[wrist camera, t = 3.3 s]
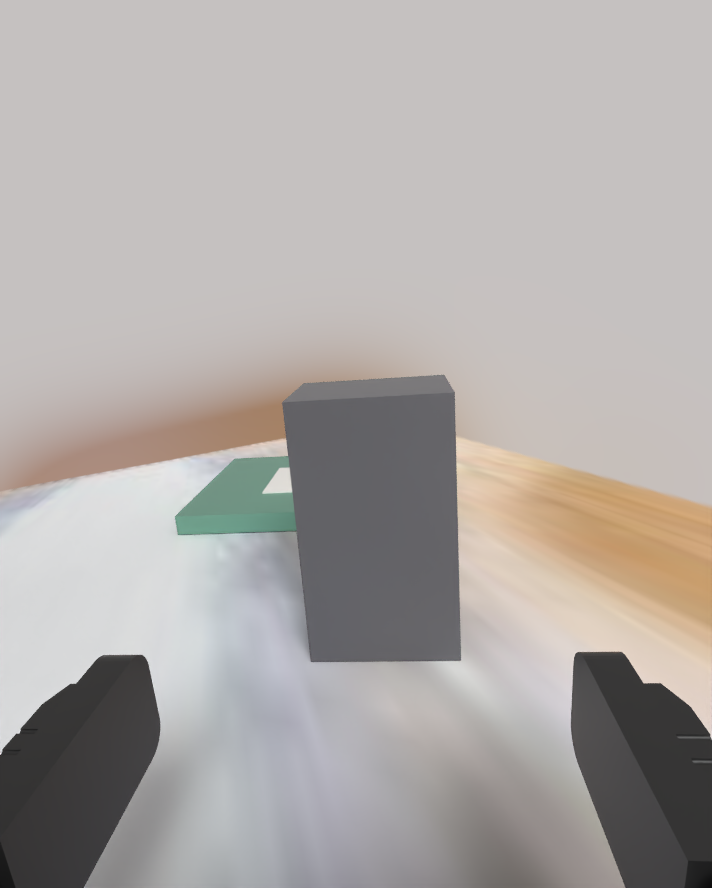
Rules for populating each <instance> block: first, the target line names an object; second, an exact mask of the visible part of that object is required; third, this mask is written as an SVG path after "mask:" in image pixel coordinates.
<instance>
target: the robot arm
mask: <svg viewBox="0 0 712 888" xmlns="http://www.w3.org/2000/svg"><path fill="white" fill-rule="evenodd" d="M571 732H572V740H573V746H574V751H575V755H576V758H577V762H578V764H579V767H580V770H581V772H582V775H583V778H584V780H585V783H586V785H587V788H588V791H589V793H590V796H591V798H592V801H593V804H594V806H595V809H596V811H597V814H598V817H599V819H600V822H601V824H602V827H603V830H604V832H605V835H606V838H607V840H608V843H609V845H610V848H611V851H612V853H613V856H614V858H615V861H616V864H617V866H618V869H619V871H620V874H621V877H622V879H623V882H624V884H625V887H626V888H712V740H711V737H710V734H709V732H708V731H707V729H706V728H705V727H704V725H703V724H702V722H701V721H700V720H699V718H698V717H697V715H696V714H695V712H694V711H693V710H692V708H691V707H690V706H689V705H688V704H686V703H685V702H684V701H683V700H681V699H680V698H679V697H677V696H676V695H675V694H674V693H672V692H671V691H670V690H669V689H667V688H666V687H665V686H663V685H662V684H661V683H648V684H643V682H642V680H641V679H640V677H639V676H638V674H637V673H636V671H635V669H634V668H633V666H632V665H631V663H630V661H629V660H628V658H627V657H626V656H625V655H624V654H623V653H622V652H577V653H576V654H575V657H574V666H573V688H572V710H571ZM159 736H160V718H159V713H158V708H157V703H156V699H155V694H154V689H153V684H152V679H151V675H150V670H149V665H148V662H147V660H146V658H145V657H144V656H143V655H103V656H101V657H99V658H98V659H97V660H96V661H95V662H94V663H93V664H92V666H91V667H90V668H89V669H88V670H87V672H86V673H85V674H84V675H83V676H82V678H81V679H80V680H79V681H78V682H77V683H76V684H70V685H68V686H67V687H66V688H64V689H63V690H61V691H60V692H59V693H57V694H56V695H55V696H53V697H52V698H50V699H49V700H48V701H46V702H45V703H44V704H42V705H41V706H40V707H39V709H38V710H37V711H36V712H35V713H34V714H33V715H32V717H31V718H30V719H29V720H28V721H27V722H26V723H25V725H24V726H23V727H22V728H21V731H20V734H16V735H15V736H14V737H13V738H12V739H11V740H10V742H9V743H8V744H7V745H6V746H5V747H4V748H3V749H2V750H3V751H2V754H1V755H0V888H84V886H85V884H86V882H87V880H88V878H89V876H90V875H91V873H92V871H93V869H94V867H95V865H96V863H97V861H98V860H99V858H100V856H101V854H102V852H103V850H104V848H105V847H106V845H107V843H108V841H109V839H110V837H111V835H112V834H113V832H114V830H115V828H116V826H117V824H118V822H119V820H120V819H121V817H122V815H123V813H124V811H125V809H126V807H127V806H128V804H129V802H130V800H131V798H132V796H133V794H134V793H135V791H136V789H137V787H138V785H139V783H140V781H141V779H142V778H143V776H144V774H145V772H146V770H147V768H148V766H149V765H150V763H151V761H152V759H153V757H154V755H155V752H156V749H157V746H158V742H159Z"/></svg>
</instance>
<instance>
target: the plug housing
mask: <svg viewBox="0 0 712 888" xmlns="http://www.w3.org/2000/svg"><path fill="white" fill-rule="evenodd" d="M454 395H455V392H454V391H453V389H452V387H451V386H450V384H449V382H448V381H447V379H446V377H445V376H444V375H434V376H418V377H401V378H385V379H369V380H353V381H336V382H320V383H304V384H302V385H301V386H300V387H299V388H298V389H297V390H296V391H295V392H293V393H292V394H291V395H290V396H289V397H288V398H287V399H285V400H284V401H283V403H282V404H283V413H284V422H285V431H286V440H287V449H288V458H289V467H290V476H291V485H292V494H293V503H294V512H295V521H296V530H297V539H298V548H299V557H300V566H301V575H302V584H303V592H304V601H305V610H306V619H307V628H308V637H309V646H310V655H311V662H324V661H433V660H461V645H460V602H459V560H458V517H457V475H456V432H455V396H454Z"/></svg>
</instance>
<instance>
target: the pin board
mask: <svg viewBox="0 0 712 888" xmlns="http://www.w3.org/2000/svg"><path fill="white" fill-rule="evenodd" d="M175 520H176V525H177V531H178V535H183V534H213V533H242V532H272V531H297V530H296V521H295V512H294V503H293V494H292V485H291V476H290V467H289V458H288V456H284V457H263V458H242V459H234V460H233V461H232V462H231V463H230V464H229V465H228V466H227V467H226V468H225V469H224V470H223V471H222V472H221V473H219V474H218V475H217V476H216V477H215V478H214V479H213V480H212V481H211V482H210V483H209V484H208V485H207V486H206V487H205V488H204V489H203V490H202V491H201V492H200V493H199V494H198V495H197V496H196V497H195V498H194V499H193V500H192V501H191V502H190V503H189V504H187V505H186V506H185V507H184V508H183V509H182V510H181V511H180V512H179V513H178V514H177V515H176V516H175Z"/></svg>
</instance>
